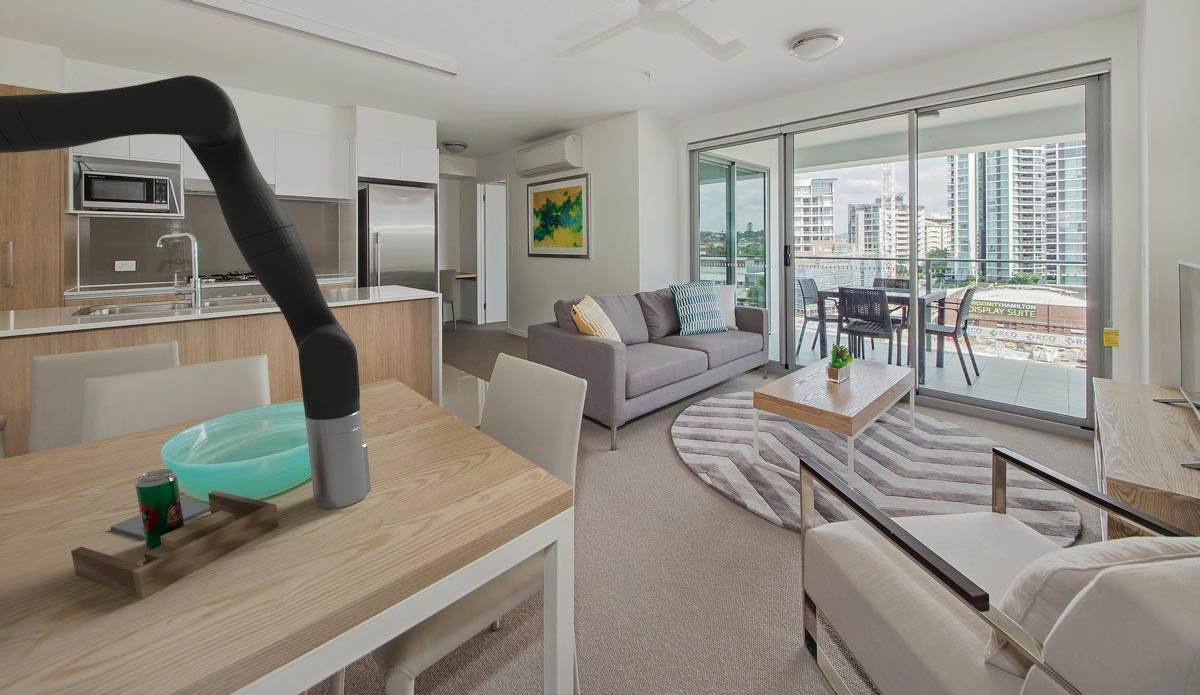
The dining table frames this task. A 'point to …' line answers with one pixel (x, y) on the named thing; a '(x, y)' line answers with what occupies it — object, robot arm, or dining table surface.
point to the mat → (135, 523)
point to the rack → (180, 550)
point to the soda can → (159, 505)
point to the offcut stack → (189, 534)
